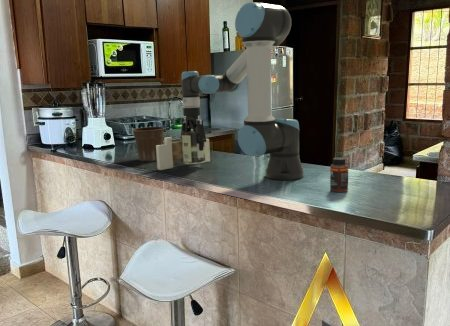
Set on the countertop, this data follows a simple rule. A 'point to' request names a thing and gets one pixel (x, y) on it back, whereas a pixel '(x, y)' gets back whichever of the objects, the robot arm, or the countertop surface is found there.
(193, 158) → the coffee can
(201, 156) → the robot arm
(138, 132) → the plant pot
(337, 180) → the supplement bottle
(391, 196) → the countertop surface
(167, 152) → the door frame
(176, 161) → the door
